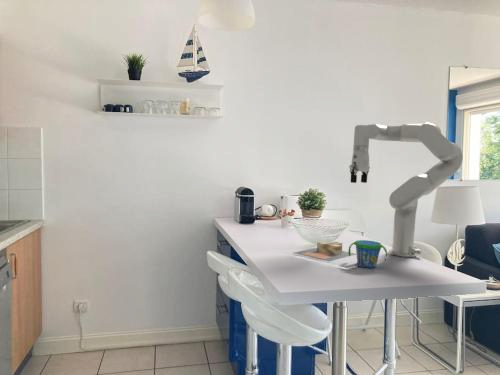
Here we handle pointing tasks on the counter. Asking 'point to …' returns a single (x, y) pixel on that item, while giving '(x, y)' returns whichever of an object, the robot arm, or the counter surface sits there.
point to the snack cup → (367, 252)
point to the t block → (330, 247)
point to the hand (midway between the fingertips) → (358, 182)
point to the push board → (323, 254)
